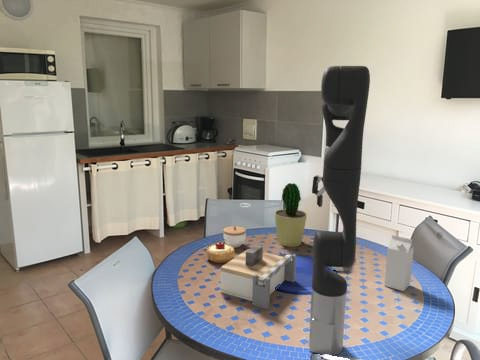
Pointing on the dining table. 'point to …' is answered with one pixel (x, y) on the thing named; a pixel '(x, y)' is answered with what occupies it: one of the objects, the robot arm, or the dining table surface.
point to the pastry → (220, 252)
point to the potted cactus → (290, 218)
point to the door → (256, 264)
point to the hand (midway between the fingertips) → (332, 208)
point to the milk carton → (399, 263)
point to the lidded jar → (234, 236)
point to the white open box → (252, 289)
